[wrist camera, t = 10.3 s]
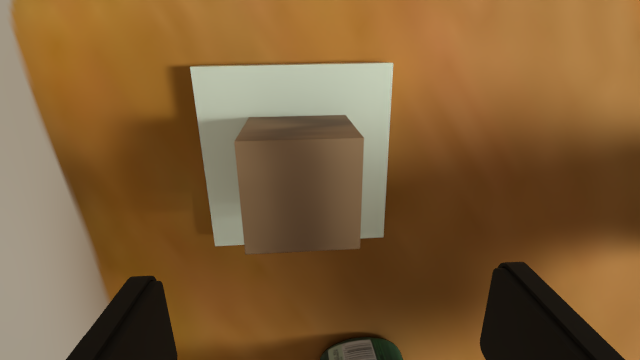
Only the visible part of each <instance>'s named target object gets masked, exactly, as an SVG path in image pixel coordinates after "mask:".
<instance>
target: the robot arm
mask: <svg viewBox="0 0 640 360" xmlns="http://www.w3.org/2000/svg"><path fill="white" fill-rule="evenodd" d="M480 347H481V351H482V353H483V355H484V357H485V359H486V360H625V359H624V358H623V357H622V356H621V355H620V354H619V353H618V352H617V351H616V350H615V349H613V348H612V347H611V346H610V345H609V344H608V343H607V342H606V341H605V340H604V339H603V338H602V337H601V336H600V335H599V334H598V333H597V332H596V331H595V330H594V329H593V328H592V327H591V326H590V325H589V324H588V323H587V322H586V321H585V320H584V319H583V318H581V317H580V316H579V315H578V314H577V313H576V312H575V311H574V310H573V309H572V308H571V307H570V306H569V305H568V304H567V303H566V302H565V301H564V300H563V299H562V298H561V297H560V296H559V295H558V294H557V293H556V292H555V291H554V290H553V289H552V288H550V287H549V286H548V285H547V284H546V283H545V282H544V281H543V280H542V279H541V278H540V277H539V276H538V275H537V274H536V273H535V272H534V271H533V270H532V269H531V268H530V267H529V266H528V265H527V264H525V263H524V262H507V263H501V264H500V265H499V267H498V268H495V269H494V271H493V274H492V280H491V285H490V290H489V296H488V301H487V306H486V311H485V317H484V322H483V327H482V333H481V338H480ZM66 360H177V351H176V346H175V341H174V337H173V332H172V327H171V322H170V317H169V313H168V308H167V303H166V298H165V294H164V289H163V285H162V282H161V281H156V279H155V277H154V276H136V277H130V278H129V279H128V280H127V281H126V283H125V284H124V285H123V287H122V288H121V289H120V290H119V292H118V293H117V294H116V296H115V297H114V298H113V300H112V301H111V302H110V303H109V305H108V306H107V308H106V309H105V310H104V311H103V313H102V314H101V315H100V317H99V318H98V319H97V321H96V322H95V323H94V324H93V326H92V327H91V328H90V330H89V331H88V332H87V333H86V335H85V336H84V337H83V338H82V340H81V341H80V342H79V343H78V345H77V346H76V347H75V349H74V350H73V351H72V352H71V354H70V355H69V356H68V358H67V359H66Z"/></svg>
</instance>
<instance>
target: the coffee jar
mask: <svg viewBox="0 0 640 360" xmlns="http://www.w3.org/2000/svg"><path fill="white" fill-rule="evenodd" d="M320 360H403V358H402V355H401V353H400V351H399V349H398V348H397V347H396V346H395V345H394V344H393V343H391V342H390V341H387V340H385V339H380V338H371V337H361V338H353V339H348V340H345V341H343V342H340V343H337V344H335V345H333V346H331V347H330V348H328V349H327V350H326V351H325V352H324V353H323V354H322V356H321V358H320Z"/></svg>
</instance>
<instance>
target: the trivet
mask: <svg viewBox="0 0 640 360" xmlns="http://www.w3.org/2000/svg"><path fill="white" fill-rule="evenodd" d="M190 70H191V78H192V85H193V92H194V99H195V106H196V113H197V120H198V127H199V135H200V142H201V149H202V156H203V163H204V170H205V177H206V184H207V192H208V199H209V206H210V213H211V220H212V227H213V234H214V241H215V246H229V245H244V236H243V226H242V216H241V206H240V196H239V186H238V175H237V165H236V155H235V145H234V141H235V139H236V138H237V136H238V134H239V133H240V131H241V129H242V128H243V126H244V125H245V123H246V121H247V120H248V118H249V117H279V116H322V115H346V116H347V117H348V119H349V120H350V121H351V122H352V124H353V125H354V126H355V127H356V129H357V130H358V131H359V132H360V134H361V135H362V136H363V137H364V151H363V179H362V207H361V234H360V239H361V238H380V237H383V236H384V219H385V201H386V183H387V165H388V147H389V130H390V112H391V94H392V76H393V63H390V62H357V63H305V64H253V65H201V66H192V67H190Z"/></svg>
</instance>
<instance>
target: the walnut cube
mask: <svg viewBox="0 0 640 360" xmlns="http://www.w3.org/2000/svg"><path fill="white" fill-rule="evenodd" d="M234 145H235V155H236V165H237V175H238V186H239V196H240V206H241V216H242V226H243V236H244V246H245V254H264V253H284V252H304V251H324V250H344V249H360V234H361V207H362V179H363V151H364V137H363V136H362V135H361V134H360V132H359V131H358V130H357V129H356V127H355V126H354V125H353V124H352V122H351V121H350V120H349V119H348V117H347V116H346V115H322V116H279V117H249V118H248V120H247V121H246V123H245V125H244V126H243V128H242V129H241V131H240V133H239V134H238V136H237V138H236V139H235V141H234Z"/></svg>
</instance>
